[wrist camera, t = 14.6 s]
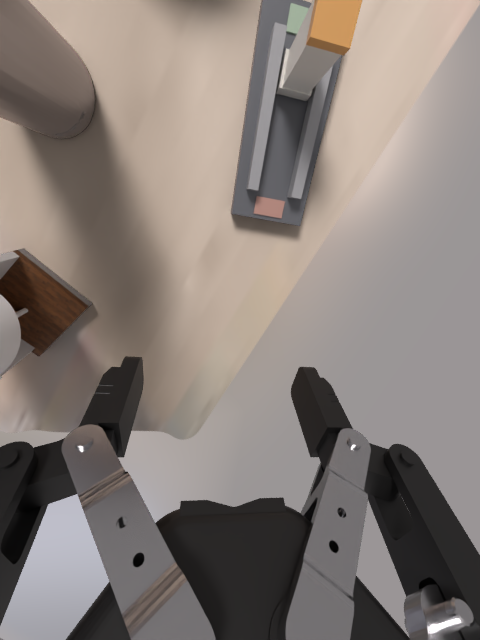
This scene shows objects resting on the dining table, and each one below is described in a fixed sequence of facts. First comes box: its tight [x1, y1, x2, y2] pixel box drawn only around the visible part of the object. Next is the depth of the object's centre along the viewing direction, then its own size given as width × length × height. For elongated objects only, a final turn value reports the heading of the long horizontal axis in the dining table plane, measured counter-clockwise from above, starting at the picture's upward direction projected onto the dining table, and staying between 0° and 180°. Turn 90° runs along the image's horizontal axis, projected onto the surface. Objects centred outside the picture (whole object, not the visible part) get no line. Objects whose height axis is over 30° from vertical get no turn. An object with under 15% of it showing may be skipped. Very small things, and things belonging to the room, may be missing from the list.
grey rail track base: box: [231, 0, 342, 226], centre depth 29 cm, size 20×9×4 cm, turn 170°
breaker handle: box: [276, 0, 362, 101], centre depth 22 cm, size 3×3×11 cm
